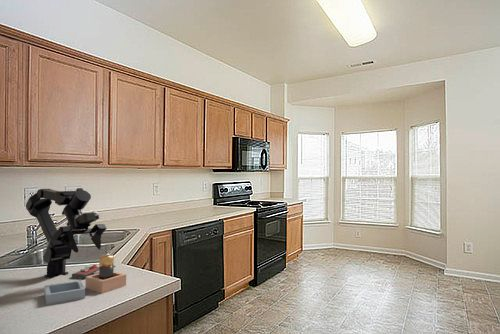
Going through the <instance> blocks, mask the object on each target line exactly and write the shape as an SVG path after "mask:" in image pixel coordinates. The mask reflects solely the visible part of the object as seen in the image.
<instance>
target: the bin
mask: <svg viewBox="0 0 500 334" xmlns="http://www.w3.org/2000/svg"><path fill="white" fill-rule="evenodd" d="M126 286H127V274H126V273H122V272H119V271H118V272H117V271H114V270H113V277H112V278H108V279H105V280H102V279H99V273H98V274H94V275H90V276H87V277H86V279H85V285H84V287H85V289H87V290H91V291H94V292H97V293H100V294H104V293H107V292H111V291H114V290H116V289H120V288H122V287H126Z"/></svg>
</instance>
